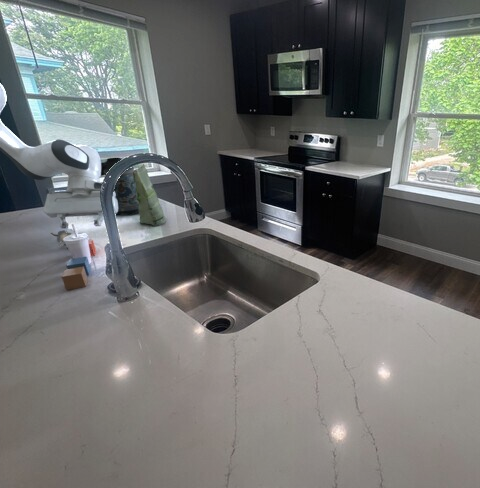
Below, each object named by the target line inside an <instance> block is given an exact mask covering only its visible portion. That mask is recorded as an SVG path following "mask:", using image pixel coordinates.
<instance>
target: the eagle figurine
mask: <svg viewBox="0 0 480 488" xmlns="http://www.w3.org/2000/svg"><path fill="white" fill-rule="evenodd" d="M50 234H51V236H54V237H56V241H57V243H60V248H62V247H63V246H65V245H66V243H64V241H63V238H64V237H66V236H68V235H72V234H75V233H74V230H73V228H66V230H65V229H64V230H63V229H62V230H59V231H58V232H57V234H55V233H53V232H50ZM66 249H67V250H69V249H68V247H67V246H66Z"/></svg>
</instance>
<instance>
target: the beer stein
mask: <svg viewBox="0 0 480 488" xmlns="http://www.w3.org/2000/svg"><path fill="white" fill-rule="evenodd" d="M120 160H122V158H120V157H108V158H106V160H105V161H104V162H101V176H100V177H102V176H106V173H107V172H108V171H109V169H110V168H111V167H112V166H113V165H114V164H115V163H117V162H118V161H120ZM134 170H135V168H134V166H133V167H132V168H129V169H128V170H126V171H125V172H124V173H123V174H122V175H121V176H120V178H119V179H118V181H117V183H116V185H115V189H114V192H115V193H116V196H115V198H116V199H117V201H118V212H117V213H116V215H115V217H117V216H118V217H127V216H135V215H139V210H138V209H139V207H140V205H139V201H138V200H137V192H136V185H135V181H134V178H133V172H134Z"/></svg>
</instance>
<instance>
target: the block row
mask: <svg viewBox="0 0 480 488" xmlns="http://www.w3.org/2000/svg"><path fill="white" fill-rule="evenodd" d="M88 244H89V250H90V256H91V257H94V256H96V252H97V249H96V246H95V242H94V239H91V238H90V239H88ZM90 264H91V263H90ZM90 264H89V261H88V259H87V257H81V258H75V259H74V258H69V259H68V261H67V263H66V269H64V270H63V272H62V275H61V279H62V282H63V284H64V287H65V289H66V291H70V290H75V289H80V288H86V287H87V284H88V281H89V278H88V276H90V274H91V270H92V268H91V265H90Z"/></svg>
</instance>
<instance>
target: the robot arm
mask: <svg viewBox="0 0 480 488" xmlns="http://www.w3.org/2000/svg"><path fill="white" fill-rule="evenodd" d="M6 102H7V94H6V90H5V88H4V86H3V85H2V84H1V83H0V114H1V113H2V112H3V109H4V108H5V106H6V104H7V103H6ZM0 152H2V153H3V154H4V155H5V156H6V157H7V158H9V160H11V162H13V164H14V165H15V166H16V167H17V169H18V170H19V171H20V172H21V173H23V174H24V175H25V176H27V177H29V178H30V179H33V180H36V181H46V180H49V179H51V178H53V177H56V176H57V175H60V174H65V175H67V176H68V178H67V186H66V190H52V191H51V192H49V193H47V194H46V199H45V203H44V205H43V213H44V214H45V215H46V216H48V217H49V218H52V219H53V218H57V219H56V220H58V221H59V228H61V229H62V230H63V229H64V230H65V229H69V223H68V222H67V221H65V220H66V218H69V217H89V216H98V217H97V219H93V225H94V226H95V227H102V222H103V221H104V220H105V219H104V218H103V213H102V209H101V204H100V191H101V185H102V183H103V182H101V180H100V178H101V177H102V176H101V163H102V160H101V157H100V154H99V152H98V151H97V150H96V149H94V148H93V147H91V146H89V145H84V144H77V145H76V144H73V142H70V141H68V140H65V139H61V138H60V139H59V138H58V139H54V140H51V141H48V142H45V143H42V144H39V145H37V146H29V145H27V144H25V143H24V142H23V141H22V140H21V139H20V138H19V137H18V136H17V135H15V134H14V133H13V132H12V131H11V130H10V129H9V128H8V127H7V126H5V124H4V123H3V122H2V119H0ZM115 196H116V193H115V192H113V206H114V211H115V214H116V213H117V212H118V201H117V199H116V198H115Z"/></svg>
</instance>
